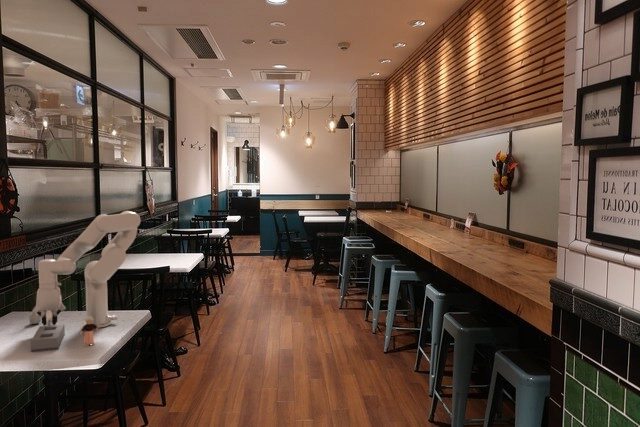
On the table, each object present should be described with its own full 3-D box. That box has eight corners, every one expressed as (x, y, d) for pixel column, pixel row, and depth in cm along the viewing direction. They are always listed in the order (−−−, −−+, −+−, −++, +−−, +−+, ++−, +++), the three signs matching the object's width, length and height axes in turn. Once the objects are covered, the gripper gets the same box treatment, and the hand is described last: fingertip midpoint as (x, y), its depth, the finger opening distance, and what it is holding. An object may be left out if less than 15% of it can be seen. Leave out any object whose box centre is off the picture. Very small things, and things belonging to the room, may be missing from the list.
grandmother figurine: (84, 348, 210) (83, 318, 209) (79, 346, 212) (78, 317, 211) (100, 342, 216) (100, 314, 215) (95, 341, 218) (94, 313, 217)
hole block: (64, 334, 226) (64, 324, 226) (58, 349, 208) (58, 337, 207) (40, 337, 223) (39, 326, 223) (31, 352, 204) (30, 340, 204)
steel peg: (54, 330, 233) (54, 305, 232) (53, 332, 229) (52, 307, 229) (46, 331, 232) (45, 306, 231) (45, 333, 228) (44, 308, 227)
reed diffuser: (43, 324, 241) (41, 284, 240) (26, 327, 237) (25, 286, 235) (38, 320, 249) (36, 281, 247) (22, 322, 244) (21, 283, 243)
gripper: (69, 283, 235) (70, 320, 237) (29, 285, 229) (31, 324, 231) (67, 286, 228) (68, 325, 230) (26, 288, 222) (27, 328, 224)
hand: (49, 324), depth 230 cm, fingers closed on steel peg, 3 cm apart
